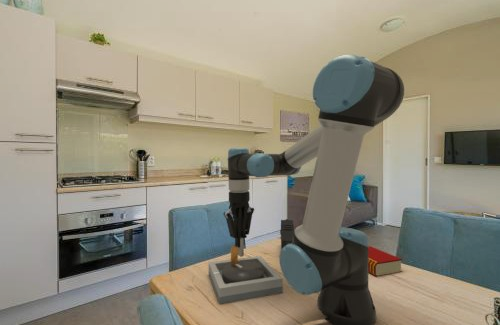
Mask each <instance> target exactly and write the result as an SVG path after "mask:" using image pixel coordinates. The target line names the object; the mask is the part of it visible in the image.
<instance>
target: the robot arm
mask: <svg viewBox="0 0 500 325" xmlns="http://www.w3.org/2000/svg"><path fill="white" fill-rule="evenodd" d="M314 80H315V81H314V82H313V87H312V99H313V100H314V104H315V106H316V107H317V109H319V112H318V118H317V120H318V122H319V123H320V125H318V126H317V127H316V128H314V129H313V130H311V131H310V132H309V133H308V134H306V135H305V136H303V137H302V138H300V139H299V140H297V141H296V142H295V143H293V145H291V146H290V147H289V148H287V149H286V150H284V151H283V152H281V153H261V152H256V153H250V152H249V149H248V147H247V148H246V147H239V148H238V147H236V148H235V147H234V148H233V147H232V148H229V149H228V153H227V173H228V174H227V175H228V190H229V192H228V201H229V202H228V203H229V207H228V210H227V211H224V212H223V214H222V215H223V216H224V218H225V220H226V224H227V228H228V232H229V236H230V238H232V239H234V246H238V256H239V257H240V258H243V257H244V256H245V252H244V251H245V250H244V248H245V247H244V246H245V245H246V243H245V242H246V240H245V239H247V237H248V236H247V235H250V231H251V223H252V218H253V214H254V213H255V208H254V207H251V206H250V203H249V202H250V195H251V194H250V191H249V190H250V177H255V178H266V177H274V176H279V177H280V176H285V177H286V176H289V177H290V176H293V175H294V176H295V175H297V174H298V173H299V172H300V170H301V169H302V166H304V165H306V164H307V163H309V162H311V161H313V160H314V159H315V158H316V161H315V165H314V170H313V174H312V179H311V184H310V188H309V192H308V198H307V202H306V207H305V211H304V217H303V220H302V224H301V225H299V226H297V227H296V228H294V236H293V241H292V244H287V245H286V246H285V247H283V248H282V250H281V249H280V252H279V265H280V266H279V267H280V270H281V273H282V274H283V277H284V279H285V282H287V283H288V285H289V286H290V288H292V289H293V291H295V292H297V293H299V294H301V295H304V296H305V295H306V296H309V295H313V294H318V293H319V294H318V297H317V308H318V310H319V312H321V314H323V315H324V316H325V317H324V319H325V320H326V321H328V322H329V323H331V324H334V325H374V323H375V322H376V319H377V318H376V314H377V312H376V311H377V310H376V306H375V304H374V300H373V297H372V294H371V291H370V289H369V272H368V250H369V246H370V245H369V237H368V235H367V233H365V232H363V231H362V230H358V229H354V228H351V227H350V228H349V227H344V226H342V223H343V220H344V215H345V211H346V207H347V203H348V200H349V197H350V196H349V195H350V192H351V189H352V188H351V187H352V184H353V180H354V175H355V171H356V167H357V164H358V160H359V157H360V152H361V149H362V148H361V147H362V143H363V140H364V136H365V135H366V134H367V133H369V132H370V131H372V130H374V127H376V126H379V124H381V123H383V122H384V121H385V120H387V119H388V118H389V117H391V116H392V115H394V114H395V113H396V112H397V110H398V109H399V108H400V106H401V104H402V103H403V100H404V96H405V84H404V82H403V79H402V78H401V76H400V75H399V74H398V73H397V72H396V71H394V70H393V69H391V68H389V67H385V66H383V65H381V64H378V63H377V62H375V61H372V60H370V59H369V58H368V57H366V56H358V55H356V54H343V55H339V56H336V57H335V58H332V59H331V60H330V61H328V63H327V64H326V65H324V66H323V67H322V68H321V69H320V71H319V73H318V74H317V76H316V78H315V79H314ZM368 245H369V246H368Z"/></svg>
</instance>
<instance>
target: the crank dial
mask: <svg viewBox="0 0 500 325" xmlns="http://www.w3.org/2000/svg"><path fill="white" fill-rule="evenodd" d="M238 256H239V255H238V246H235V245H231V246H230V260H231V263H228V264H226V265H225V266H224V267H223V268H222V279H223V281H224V282H226V283H227V284H229V283H236V282H242V281H249V280H255V279H262V278H264V268H263V266H262V265H260V264H258V263H256V262H252V261H238V259H239V258H238Z"/></svg>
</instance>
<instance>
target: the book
mask: <svg viewBox="0 0 500 325" xmlns="http://www.w3.org/2000/svg"><path fill="white" fill-rule="evenodd" d="M368 246H369V250H368V274H371V275H372V276H374V277H377V278H378V277H383V276H387V275H392V274H398V273H402V272H403V271H402V261H403V259H402V258H401V257H398V256H395V255H394V254H390V253H387V252H385V251H383V250H381V249H378V248H376V247H373V246H371V245H369V244H368Z"/></svg>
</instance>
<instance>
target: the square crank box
mask: <svg viewBox="0 0 500 325" xmlns="http://www.w3.org/2000/svg"><path fill="white" fill-rule="evenodd" d="M238 261H252V262H256V263H258V264H260V265H262V266H263V268H264V278H262V279H255V280H249V281H242V282H236V283H229V284H227V283H226V282H224V281H223V279H222V268H223V267H224V266H225V265H226V264H228V263H231V259H223V260H217V261H210V262H208V276H209V278H210V279H209V280H210V282H211V285H212V287H213V291H214V294H215V296H216V298H217V301H218V303H219V305H221V304H228V303H233V302H238V301H244V300H249V299H251V300H252V299H255V298H256V299H257V298H260V297H262V298H263V297H268V296H272V295H277V294H279V295H280V294H283V293H284V283H283V282H284V279H283V277H282V275H281V274H279V273H278V272H277V271H276V270H275V269H274V268H273V267H272V265H270V264H269V263H268V262H267V261H266V260H265V259H264V258H263V257H262V255H258V256H251V257H250V256H249V257H240V258H238Z"/></svg>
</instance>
